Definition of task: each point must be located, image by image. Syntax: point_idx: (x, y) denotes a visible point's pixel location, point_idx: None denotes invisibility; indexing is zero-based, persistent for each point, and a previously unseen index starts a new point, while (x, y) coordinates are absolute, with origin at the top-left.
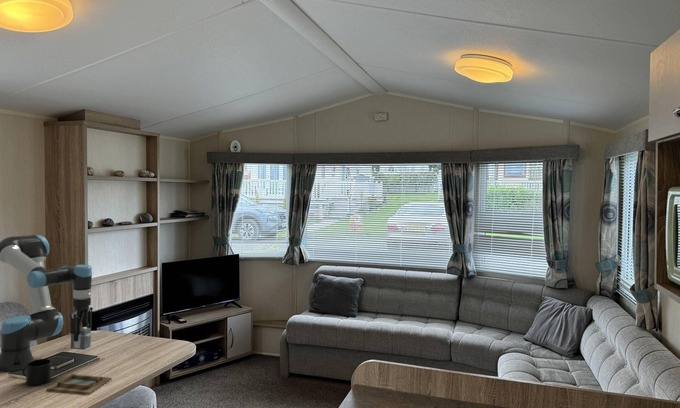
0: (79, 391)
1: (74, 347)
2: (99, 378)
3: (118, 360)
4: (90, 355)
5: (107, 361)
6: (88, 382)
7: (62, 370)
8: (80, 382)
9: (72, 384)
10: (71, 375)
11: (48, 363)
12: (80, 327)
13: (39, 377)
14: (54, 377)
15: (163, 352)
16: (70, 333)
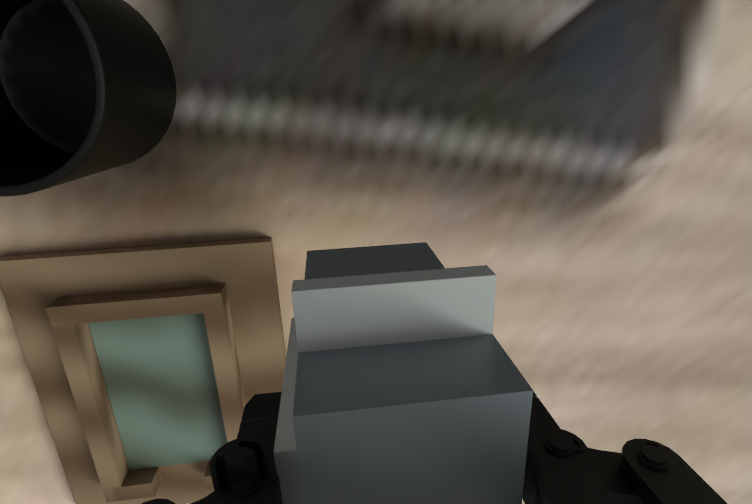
0: (64, 465)
1: (292, 325)
2: None
3: (588, 332)
4: (670, 83)
5: (564, 280)
6: (189, 430)
7: (347, 90)
8: (170, 390)
9: (79, 409)
10: (195, 305)
11: (8, 195)
12: (512, 465)
13: None
14: (212, 132)
15: (728, 473)
16: (332, 314)
